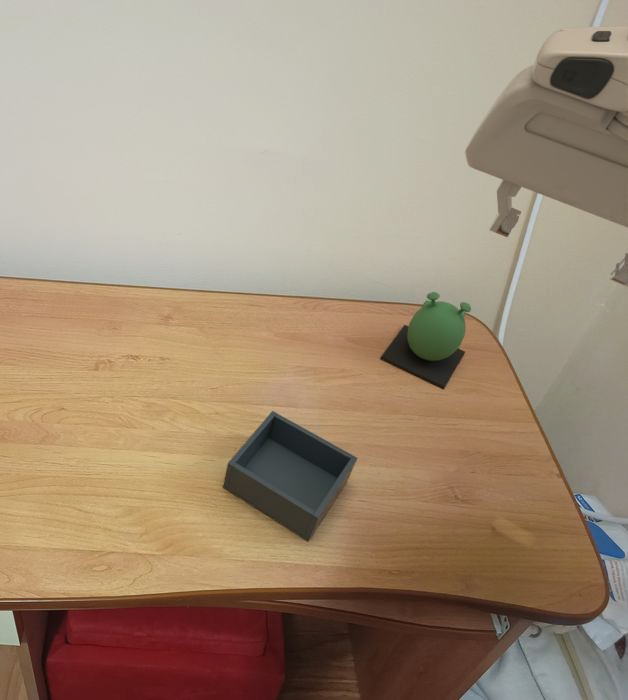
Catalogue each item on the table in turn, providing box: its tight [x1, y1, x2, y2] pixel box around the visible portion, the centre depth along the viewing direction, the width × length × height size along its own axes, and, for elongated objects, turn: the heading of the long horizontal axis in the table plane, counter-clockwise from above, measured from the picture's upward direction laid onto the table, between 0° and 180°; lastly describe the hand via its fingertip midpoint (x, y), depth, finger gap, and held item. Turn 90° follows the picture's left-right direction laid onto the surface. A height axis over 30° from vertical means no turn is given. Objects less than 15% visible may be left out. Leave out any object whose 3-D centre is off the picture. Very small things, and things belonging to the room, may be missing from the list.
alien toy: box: [407, 291, 472, 361], centre depth 84 cm, size 7×8×10 cm
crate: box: [222, 410, 358, 542], centre depth 69 cm, size 11×10×4 cm
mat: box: [379, 324, 466, 390], centre depth 88 cm, size 9×9×1 cm
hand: (557, 254), depth 50 cm, fingers open, 8 cm apart
